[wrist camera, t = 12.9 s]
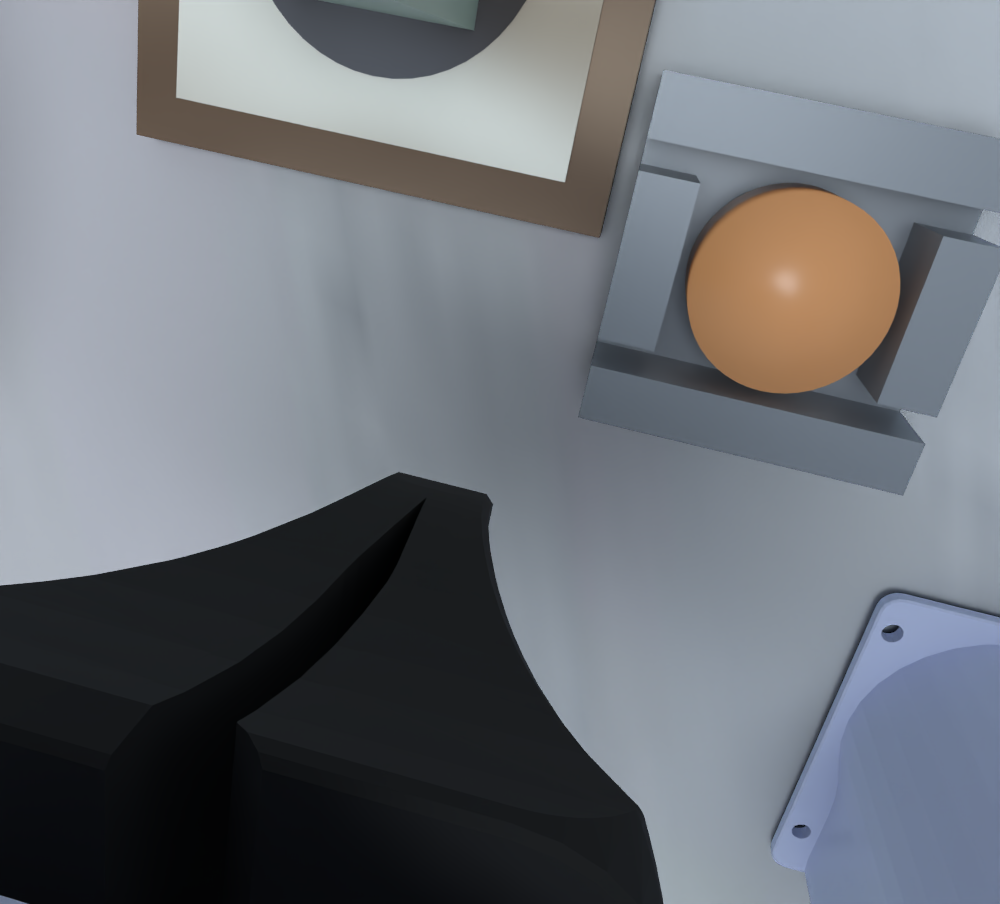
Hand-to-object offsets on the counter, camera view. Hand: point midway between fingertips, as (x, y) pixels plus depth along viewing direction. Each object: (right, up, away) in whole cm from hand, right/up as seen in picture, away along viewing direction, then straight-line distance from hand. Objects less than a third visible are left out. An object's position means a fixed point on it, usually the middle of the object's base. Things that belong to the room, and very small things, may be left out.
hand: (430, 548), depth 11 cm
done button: (+7, +5, +7) cm, 11 cm away
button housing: (+7, +5, +8) cm, 12 cm away
